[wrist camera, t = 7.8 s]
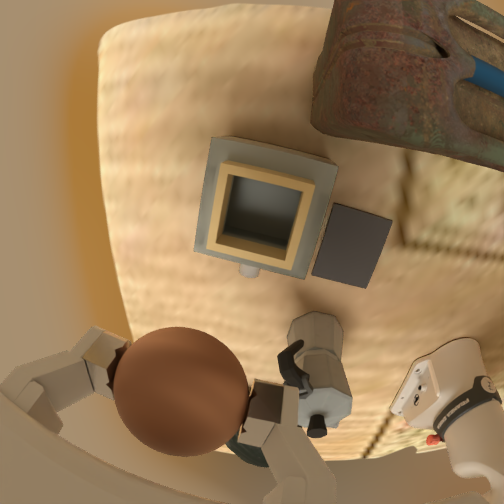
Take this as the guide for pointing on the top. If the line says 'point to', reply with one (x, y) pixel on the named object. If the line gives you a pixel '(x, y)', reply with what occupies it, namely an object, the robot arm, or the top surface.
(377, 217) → the mat
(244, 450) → the squash
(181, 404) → the bead
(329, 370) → the coffee maker
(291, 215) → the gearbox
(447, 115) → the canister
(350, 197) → the top surface
